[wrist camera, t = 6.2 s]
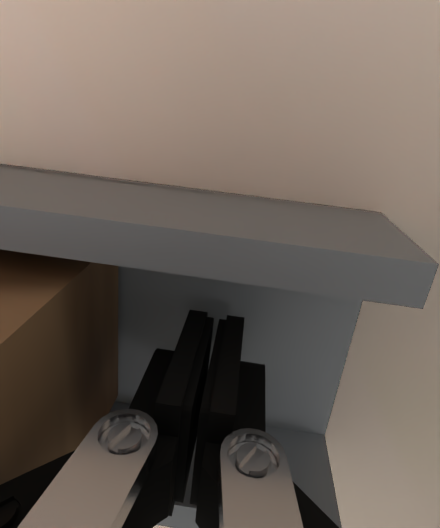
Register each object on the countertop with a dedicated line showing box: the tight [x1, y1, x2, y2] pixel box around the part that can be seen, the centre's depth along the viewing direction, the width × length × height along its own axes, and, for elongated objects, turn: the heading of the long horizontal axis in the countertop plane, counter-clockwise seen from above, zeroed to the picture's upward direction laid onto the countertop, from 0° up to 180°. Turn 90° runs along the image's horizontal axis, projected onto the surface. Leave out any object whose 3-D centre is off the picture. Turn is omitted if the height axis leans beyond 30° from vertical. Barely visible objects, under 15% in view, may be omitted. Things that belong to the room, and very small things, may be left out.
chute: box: [0, 164, 439, 528], centre depth 12 cm, size 18×9×4 cm, turn 84°
